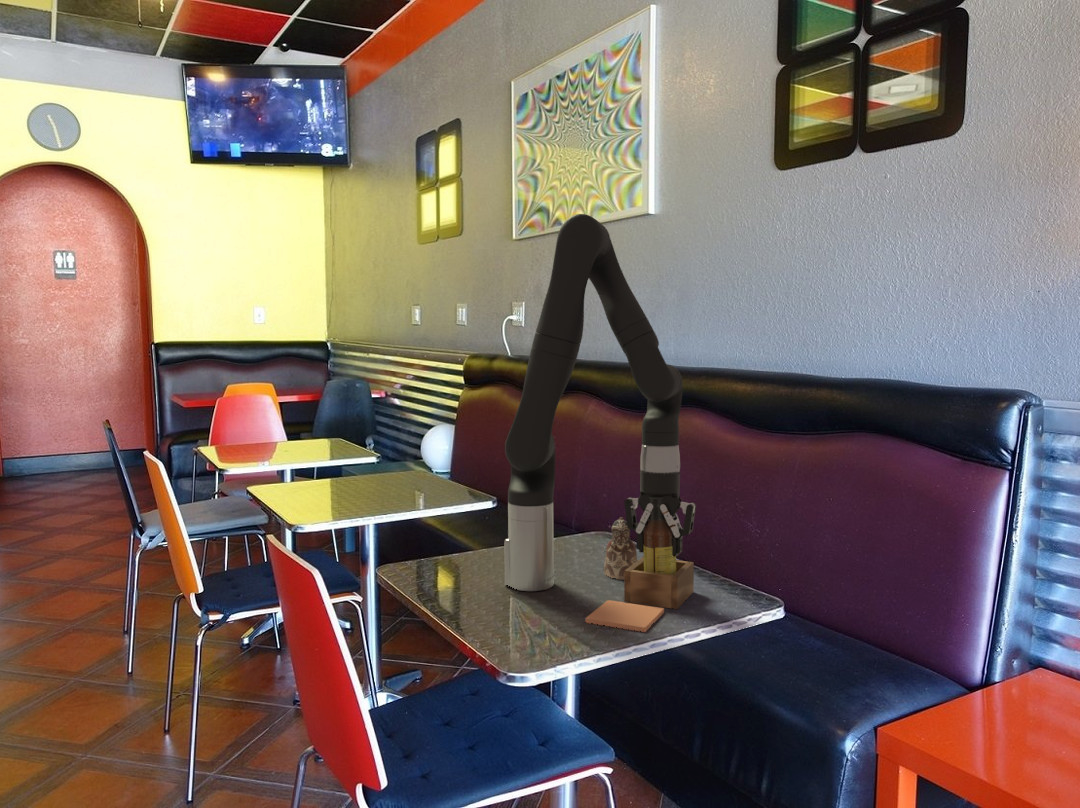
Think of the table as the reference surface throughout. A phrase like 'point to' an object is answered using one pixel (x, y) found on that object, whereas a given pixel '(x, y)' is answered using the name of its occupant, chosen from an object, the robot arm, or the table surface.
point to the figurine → (619, 551)
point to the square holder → (658, 585)
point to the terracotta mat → (625, 615)
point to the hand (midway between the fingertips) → (659, 553)
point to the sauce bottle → (658, 541)
